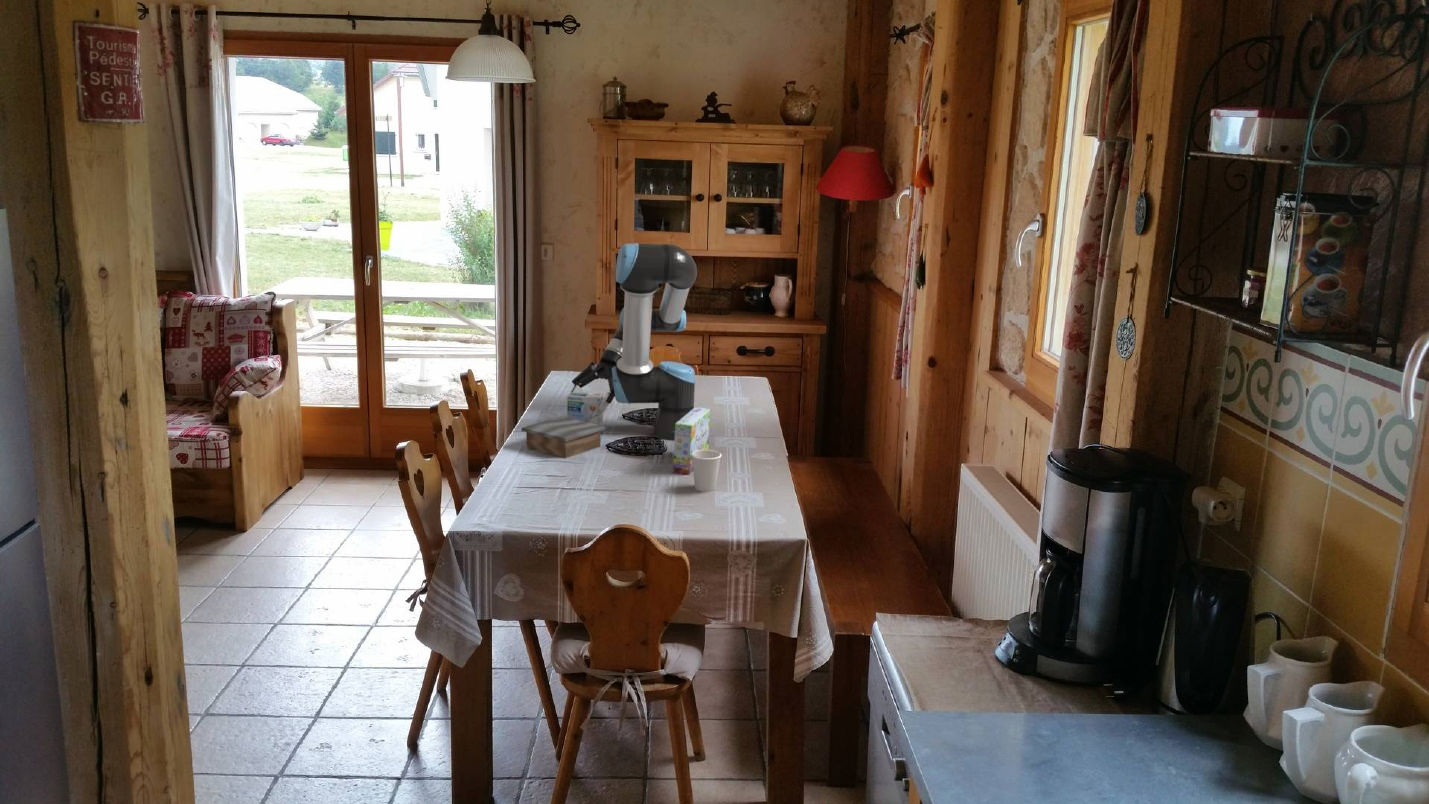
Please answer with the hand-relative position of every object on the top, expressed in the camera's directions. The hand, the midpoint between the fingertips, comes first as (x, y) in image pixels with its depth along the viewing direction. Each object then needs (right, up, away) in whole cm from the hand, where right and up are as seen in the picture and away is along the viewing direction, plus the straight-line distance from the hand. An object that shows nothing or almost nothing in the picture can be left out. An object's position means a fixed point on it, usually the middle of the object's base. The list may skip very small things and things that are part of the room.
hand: (585, 406), depth 357 cm
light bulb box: (0, -7, +1) cm, 7 cm away
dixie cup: (+40, -23, -57) cm, 73 cm away
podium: (-4, -12, -24) cm, 27 cm away
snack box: (+36, -17, -36) cm, 53 cm away
